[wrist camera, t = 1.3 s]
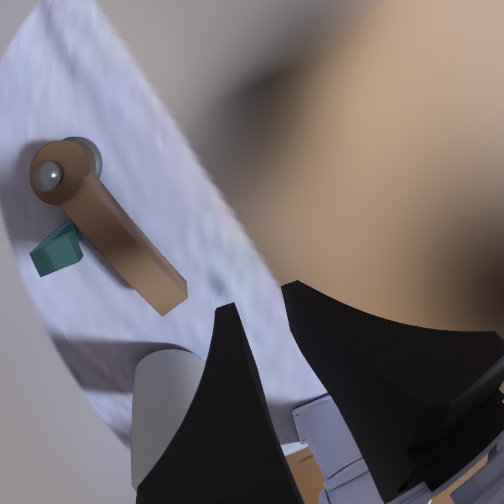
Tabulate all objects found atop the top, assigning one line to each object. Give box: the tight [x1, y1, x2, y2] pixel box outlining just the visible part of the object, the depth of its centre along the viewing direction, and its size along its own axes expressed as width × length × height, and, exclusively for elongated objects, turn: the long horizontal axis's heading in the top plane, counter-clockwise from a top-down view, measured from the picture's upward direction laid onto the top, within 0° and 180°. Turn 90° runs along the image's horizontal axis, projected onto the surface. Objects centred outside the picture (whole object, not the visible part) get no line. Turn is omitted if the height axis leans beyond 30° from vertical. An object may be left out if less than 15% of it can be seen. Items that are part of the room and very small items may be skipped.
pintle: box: [34, 137, 102, 192], centre depth 12 cm, size 4×4×4 cm
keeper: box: [30, 221, 83, 277], centre depth 14 cm, size 1×3×4 cm, turn 104°
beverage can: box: [131, 349, 206, 492], centre depth 16 cm, size 6×6×12 cm
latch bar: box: [30, 140, 188, 316], centre depth 14 cm, size 12×3×3 cm, turn 34°
